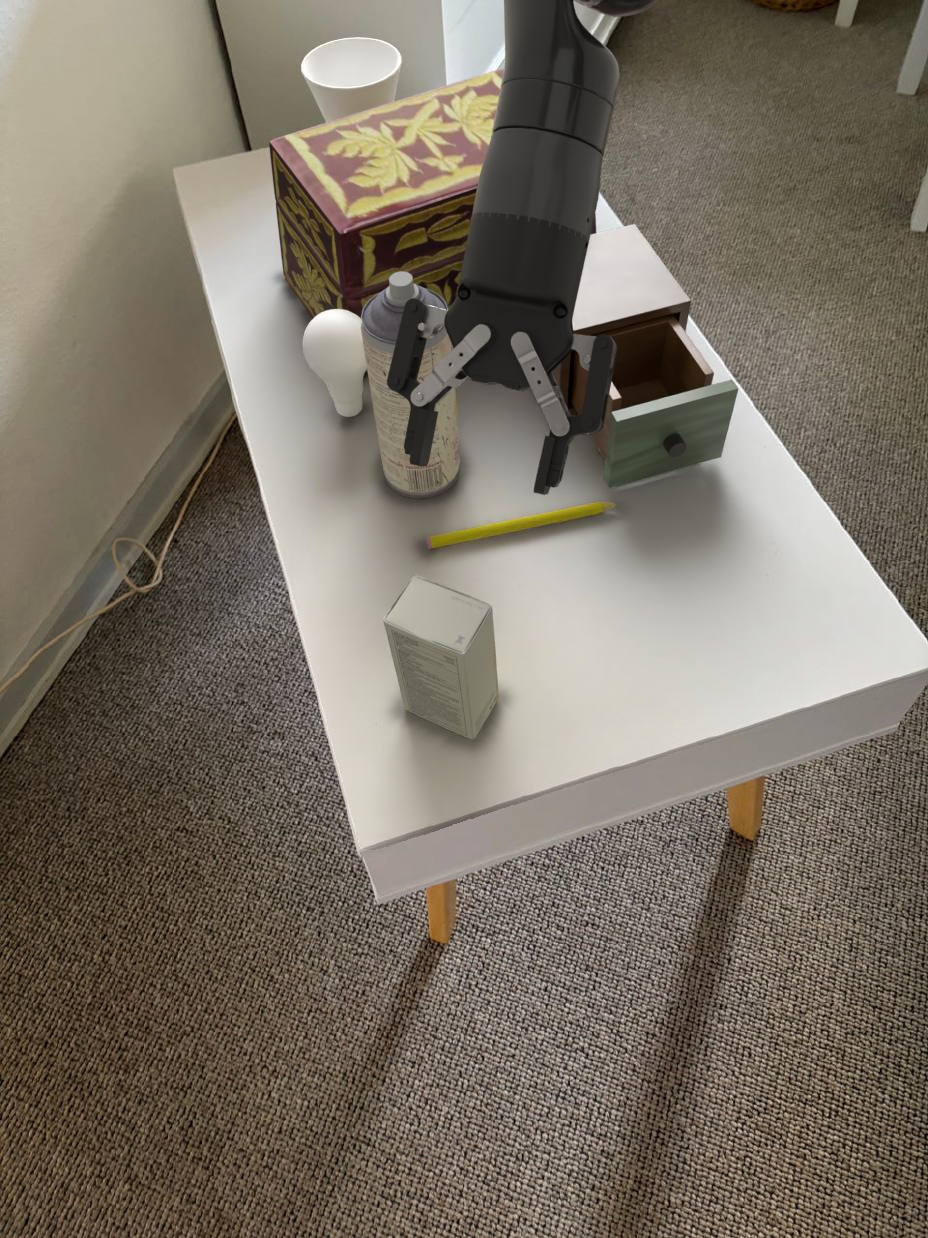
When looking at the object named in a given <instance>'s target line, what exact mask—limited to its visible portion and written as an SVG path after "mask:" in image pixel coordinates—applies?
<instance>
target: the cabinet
mask: <svg viewBox="0 0 928 1238" xmlns="http://www.w3.org/2000/svg"><path fill="white" fill-rule="evenodd" d="M691 304H692V300H691V298H690V297H689V296H688V294H687V293H686V292H685V290H684V289H683V288H682V286H681V285H680V284H679V282H678V281H677V279H676V278H675V277H674V275H673V274H672V273H671V271H670V270H669V268H668V267H667V266H666V265H665V263H664V262H663V260H662V259H661V257H660V256H659V255H658V253H657V252H656V250H655V249H654V248H653V246H652V245H651V244H650V243H649V241H648V240H647V238H646V237H645V236H644V234H643V233H642V231H641V230H640V229H639V227H638V226H637V225H636V223H633V224H628V225H624V226H620V227H616V228H612V229H608V230H603V231H600V232H596V233H595V234H591V235H590V240H589V244H588V249H587V253H586V258H585V262H584V267H583V271H582V276H581V281H580V285H579V290H578V295H577V299H576V304H575V308H574V313H573V319H572V325H573V331H574V334H579V335H587V336H588V335H592V334H596V333H600V332H604V331H607V330H611V329H615V328H619V327H623V326H627V325H631V324H635V323H638V322H642V321H646V320H650V319H654V318H658V317H662V316H665V315H669V314H673V315H674V317H675V318H676V320H677V321H678V322H679V324H680V325H681V327H682V328H683V329H684V331H685V332H686V331H687V326H688V321H689V315H690V310H691V309H690V308H691ZM686 333H687V332H686ZM574 356H575V350H573V351H572V352H571V354H570V355H569V356H568V357H566V358H565V359H564V360H563V361H562V362H561V363H560V364H559V365H558V366H557V367H556V368H555V369H554V370H553V371H552V372H553V374H554V377H555V379H556V381H557V383H558V386H559V388H560V390H561V392H562V395H563V398H564V401H565V404H566V406H567V408H568V410H569V413H570V415H571V416H574V415H578V413H577V411H576V409H575V408H574V406H573V404H572V402H571V401H572V385H573V370H574Z"/></svg>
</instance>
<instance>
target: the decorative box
mask: <svg viewBox="0 0 928 1238" xmlns="http://www.w3.org/2000/svg"><path fill="white" fill-rule="evenodd" d="M503 73H504V68H499V69H495V70H492V71H489V72H485V73H482V74H478V75H475V76H472V77H469V78H466V79H461V80H459V81H456V82H452V83H450V84H447V85H442V86H440V87H436V88H433V89H429V90H427V91H424V92H420V93H418V94H414V95H411V96H407V97H404V98H401V99H398V100H394V102H391V103H388V104H385V105H381V106H378V107H375V108H372V109H369V110H365V111H362V112H359V113H356V114H352V115H349V116H346V117H343V118H339V119H336V120H333V121H330V122H327V123H326V122H324V123H320V124H317V125H314V126H310V127H307V128H304V129H301V130H298V131H294V132H292V133H288V134H286V135H282V136H279V137H276V138H274V139H272V140H269V144H268V146H269V157H270V165H271V173H272V174H271V175H272V182H273V183H272V185H273V193H274V199H275V200H274V201H275V211H276V220H277V230H278V238H279V247H280V256H281V264H282V266H281V267H282V273H283V277H284V278H285V279H286V281H287V283H288V284H289V286H290V288H292V290H293V292H294V294H296V296H297V298H298V299H299V301H300V302H301V303H302V305H303V306H304V308H305V309H306V311H307V312H308V314H309V315H310V317H311V318H312V319H313V318H314V317H315V316H317V315H318V314H320V313H321V312H324V311H327V310H331V309H343V310H347V311H350V312H352V313H354V314H356V315H357V316H358V317H360V318H361V315H362V310H363V308H364V306H365V305H366V303H367V302H368V301H369V300H370V299H371V298H372V297H374V296H375V295H376V294H378V293H380V292H382V291H383V290H384V289H386V288H387V287H389V278H390V276H391V275H392V274H394V273H396V272H400V271H402V272H408V273H410V274H411V275H412V277H413V283H414V284H416V285H418V286H421V287H423V288H426V289H429V290H431V291H433V292H435V293H437V294H439V295H440V296H441V297H442V299H443V300H444V301H445V302H446V305H447V308H448V310H449V308H450V307H451V306H452V304H453V303H454V301H455V299H456V296H457V292H458V286H459V280H460V275H461V270H462V265H463V260H464V254H465V249H466V244H467V239H468V233H469V228H470V223H471V218H472V213H473V207H474V202H475V197H476V192H477V187H478V181H479V177H480V172H481V169H482V165H483V162H484V159H485V156H486V153H487V150H488V147H489V144H490V140H491V135H492V130H493V125H494V120H495V114H496V109H497V104H498V99H499V94H500V89H501V84H502V79H503ZM595 217H596V218H597V215H596V213H595ZM595 233H597V219H596V220H595V225H594V229H593V232H592V234H595ZM366 375H367V376H368V371H367V369H366V371H365V373H364V376H366Z"/></svg>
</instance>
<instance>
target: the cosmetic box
mask: <svg viewBox="0 0 928 1238" xmlns="http://www.w3.org/2000/svg"><path fill="white" fill-rule="evenodd" d="M493 613H494V612H493V606H492V604H490V603H488V602H486V601H483V600H481V599H479V598H476V597H474V596H471V595H469V594H466V593H464V592H462V591H459V590H457V589H454V588H451V587H449V586H446V585H443V584H441V583H439V582H437V581H433V580H430V579H428V578H425V577H422V576H420V575H416V574H414V575H413V576H412V577H411V578H410V580H409V581H408V583H407V584H406V585H405V586H404V588H403V590H402V591H400V594H399V595H398V596H397V598H396V599H395V601H394V602H393V603H392V605H391V606H390V607H389V609H388V610H387V612H386V614H385V615H384V616H383V618H382V621H383V626H384V629H385V634H386V637H387V641H388V646H389V650H390V655H391V658H392V662H393V667H394V672H395V676H396V679H397V684H398V687H399V691H400V696H401V700H402V704H403V707H404V710H406V711H408V712H410V713H412V714H414V715H416V716H418V717H421V718H422V719H423V720H427V721H428V722H431V723H433V724H435V725H437V726H440V727H442V728H444V729H446V730H448V731H451V732H452V733H455V734H457V735H460V736H462V737H465V738H467V739H469V740H473V741H475V739H476V737H477V736H478V734H479V733H480V731H481V729H482V728H483V726H484V725H485V722H486V721H487V719H488V718H489V716H490V714H491V712H492V710H493V709H494V707H495V705H496V703H497V701H498V699H499V698H500V694H499V693H500V692H499V680H498V678H499V677H498V666H497V652H496V650H497V649H496V638H495V628H494V627H495V624H494V614H493Z"/></svg>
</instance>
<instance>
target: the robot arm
mask: <svg viewBox="0 0 928 1238" xmlns="http://www.w3.org/2000/svg"><path fill="white" fill-rule="evenodd" d="M657 1H658V0H503V12H504V13H503V26H504V29H503V31H504V68H503V69H504V73H503V79H502V84H501V89H500V94H499V99H498V104H497V109H496V114H495V120H494V125H493V130H492V135H491V140H490V144H489V147H488V150H487V153H486V156H485V159H484V162H483V165H482V169H481V172H480V177H479V181H478V187H477V192H476V197H475V202H474V207H473V213H472V218H471V223H470V228H469V233H468V239H467V244H466V249H465V254H464V260H463V265H462V270H461V275H460V280H459V286H458V292H457V296H456V299H455V301H454V303H453V304H452V306H451V307H450V308H449V310H445V309H442V308H438V307H434V306H430V305H428V304H426V303H424V302H422V301H420V300H418V299H416V298H412V299H409V300H408V301H407V302H406V304H405V307H404V311H403V315H402V319H401V324H400V328H399V332H398V336H397V340H396V344H395V349H394V353H393V357H392V361H391V365H390V369H389V374H388V378H387V385H388V387H389V388H390V389H391V390H393V391H395V392H397V393H399V394H400V395H402V396H403V397H405V398H406V399H407V400H408V401H409V403H410V415H409V420H408V426H407V432H406V437H405V442H404V450H405V454H408V455H410V464H412V465H416V466H420V467H421V466H427V465H428V462H429V458H430V453H431V448H432V443H433V438H434V433H435V427H436V422H437V417H438V412H437V411H434V410H435V406H436V405H437V404H438V403H439V402H440V401H441V400H442V399H444V398H445V397H446V396H447V395H448V394H449V393H450V392H451V391H452V390H453V389H455V390H456V388H458V387H460V386H462V384H463V383H465V382H466V380H467V379H468V378H469V379H470V380H471V382H476V383H479V384H484V385H487V386H488V385H489V386H494V385H495V386H496V385H500V386H503V387H504V388H506V389H509V390H513V391H518V392H524V393H525V392H526V391H529V390H531V391H532V393H533V395H534V398H535V400H536V402H537V404H538V406H540V408H541V410H542V413H543V415H544V417H545V420H546V422H547V425H548V426H549V428H550V429H549V435H545V436H544V438H543V443H542V448H541V453H540V457H539V462H538V467H537V470H536V476H535V480H534V485H533V493H534V494H536V495H537V494H538V495H541V496H546V495H548V494H549V493H550V490H551V488H558V487H559V485H560V483H561V482H562V480H563V476H564V471H565V468H566V463H567V459H568V454H569V451H570V450H569V449H570V445H571V442H572V440H573V439H574V438H576V437H577V436H582V435H590V434H589V433H598V432H600V431H601V430H602V429H603V427H604V423H605V417H606V411H607V405H608V399H609V393H610V387H611V381H612V375H613V369H614V363H615V357H616V351H617V345H616V343H615V341H614V340H613V339H612V338H611V337H610V336H608V335H605V334H602V335H599V336H597V337H596V336H587V335H579V334H574V331H573V325H572V319H573V313H574V308H575V304H576V299H577V295H578V290H579V285H580V281H581V276H582V271H583V267H584V262H585V258H586V253H587V249H588V244H589V240H590V235H591V234H592V232H593V229H594V225H595V220H596V221H597V216H596V217H595V214H596V211H597V207H598V202H599V197H600V188H601V175H602V166H603V162H604V155H605V152H606V151H605V150H606V146H607V141H608V136H609V132H610V126H611V122H612V118H613V114H614V113H613V112H614V109H615V105H616V101H617V95H618V90H619V83H620V67H619V63H618V61H617V59H616V57H615V55H614V54H613V52H612V51H611V50H610V49H609V48H608V47H607V46H606V45H605V44H603V42H602V41H600V40H599V39H597V37H595V36H594V35H593V34H592V33H591V32H590V31H589V30H588V29H587V28H586V27H585V26H584V24H583V23H582V22H581V20H580V18H578V14H577V12H576V9H575V8H576V7H575V3H577V4H579V5H581V6H584V7H586V8H588V9H590V10H592V11H595V12H597V13H599V14H601V15H605V16H609V17H615V18H622V17H623V18H624V17H630V16H635V15H638V14H641V13H643V12H645V11H647V10H649V9H650V8H651V7H652V6H654V4H656V3H657ZM442 326H445V329H446V331H447V334H448V336H449V338H450V341H451V343H452V346H453V350H452V351H451V352H450V353H449V354H448V355H447V356H446V357H445V358H444V359H443V360H442V361H441V362H439V363H438V364H437V365H436V366H435V367H434V369H433V370H432V373H431V374H430V375H429V376H428V377H427V378H426V379H425V380H424V381H422V382H421V383H420V382H418V381H417V377H418V373H419V369H420V365H421V361H422V357H423V353H424V349H425V345H426V341H427V339H432V338H433V337H435V335H436V333H437V331H438V329H439V328H440V327H442ZM573 350H575V351H577V352H578V354H579V357H580V365H581V366H582V367H583V368H584V369H586V370H588V371H589V373H588V379H587V385H586V391H585V397H584V403H583V409H582V414H580V415H578V414H575V415H570V413H569V410H568V408H567V406H566V404H565V401H564V398H563V395H562V392H561V390H560V388H559V386H558V383H557V381H556V379H555V377H554V374H553V372H552V371H553V370H554V369H555V368H556V367H557V366H558V365H559V364H560V363H561V362H562V361H563V360H564V359H565V358H566V357H568V356H569V355H570V354H571V352H572V351H573ZM451 364H453V365H451Z"/></svg>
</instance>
